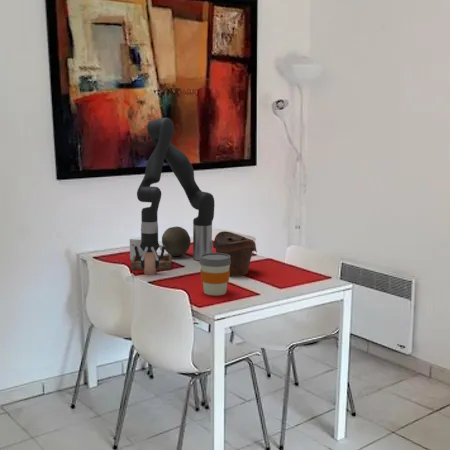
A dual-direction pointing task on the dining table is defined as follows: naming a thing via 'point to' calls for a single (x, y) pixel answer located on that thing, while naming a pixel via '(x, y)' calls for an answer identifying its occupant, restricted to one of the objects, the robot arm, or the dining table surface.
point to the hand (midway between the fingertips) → (150, 268)
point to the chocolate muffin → (235, 251)
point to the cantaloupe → (176, 241)
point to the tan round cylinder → (149, 263)
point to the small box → (133, 243)
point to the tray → (163, 265)
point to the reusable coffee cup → (215, 272)
